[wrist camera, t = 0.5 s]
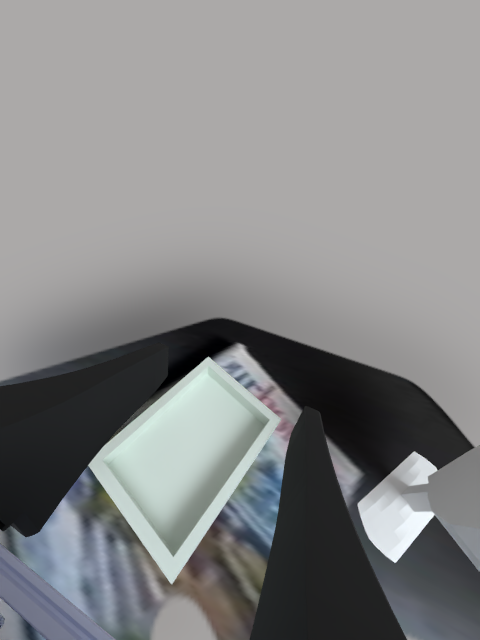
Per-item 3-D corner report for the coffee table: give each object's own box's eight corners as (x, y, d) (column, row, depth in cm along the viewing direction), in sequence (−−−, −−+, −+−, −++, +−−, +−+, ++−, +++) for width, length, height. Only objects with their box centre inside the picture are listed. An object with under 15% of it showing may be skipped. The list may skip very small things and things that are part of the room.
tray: (173, 577, 19) (171, 584, 17) (94, 466, 22) (85, 461, 20) (274, 426, 28) (281, 419, 26) (207, 367, 32) (208, 356, 30)
